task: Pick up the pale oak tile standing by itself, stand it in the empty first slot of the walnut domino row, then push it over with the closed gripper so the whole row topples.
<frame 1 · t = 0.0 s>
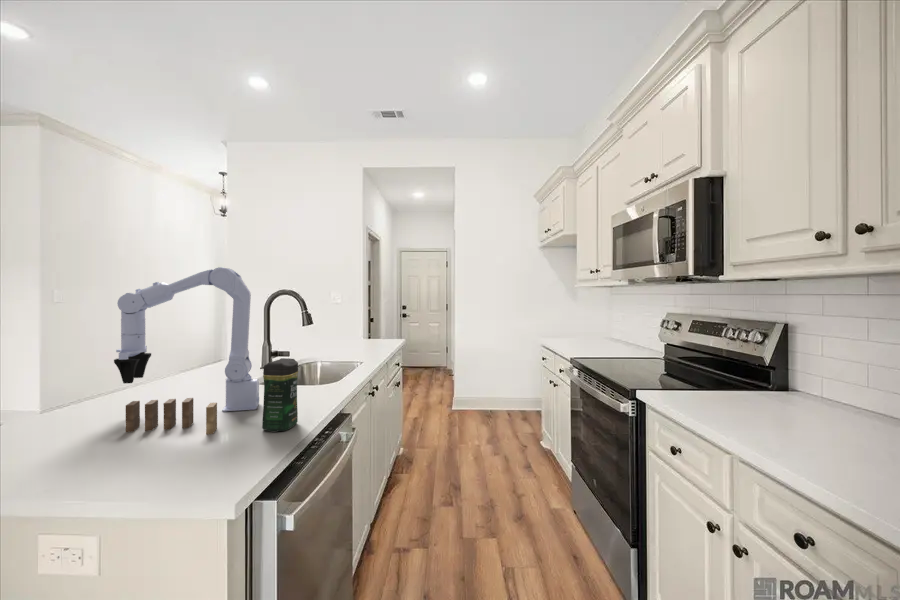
hand: (133, 380, 125), 10 cm above the counter, fingers open, 7 cm apart
tile 3: (169, 426, 115), on the counter
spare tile: (211, 431, 111), on the counter
tile 4: (151, 428, 113), on the counter
tile 2: (187, 425, 116), on the counter
tile 5: (132, 429, 112), on the counter
coffee jar: (280, 427, 116), on the counter
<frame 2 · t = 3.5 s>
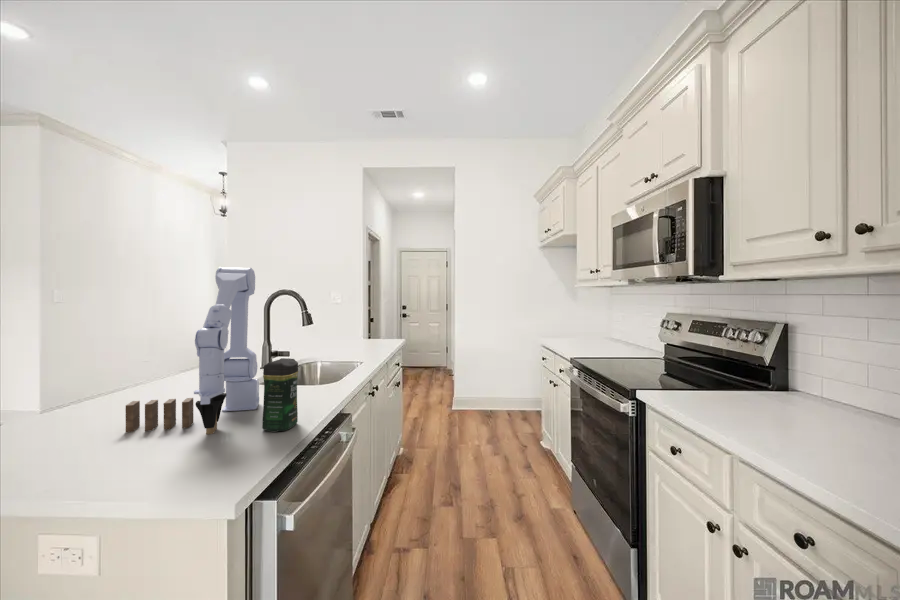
hand: (211, 424, 111), 2 cm above the counter, fingers closed on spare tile, 4 cm apart
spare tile: (211, 431, 111), on the counter, touching gripper
everything else where it was.
when the fingers open (3 cm above the counter, at t = 6.6 s): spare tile drops 1 cm, on the counter.
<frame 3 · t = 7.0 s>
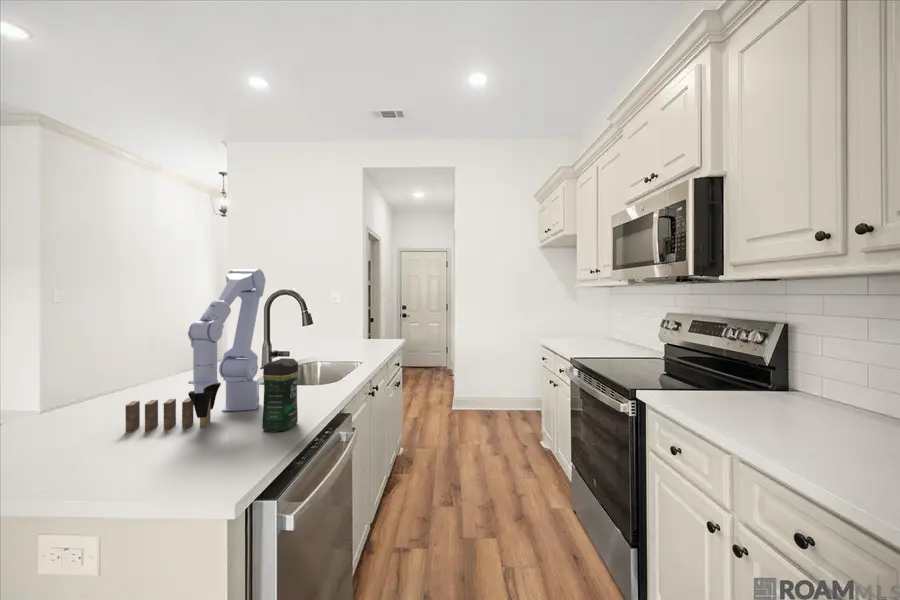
hand: (205, 413, 117), 3 cm above the counter, fingers open, 7 cm apart
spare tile: (205, 424, 117), on the counter
everything else where it was.
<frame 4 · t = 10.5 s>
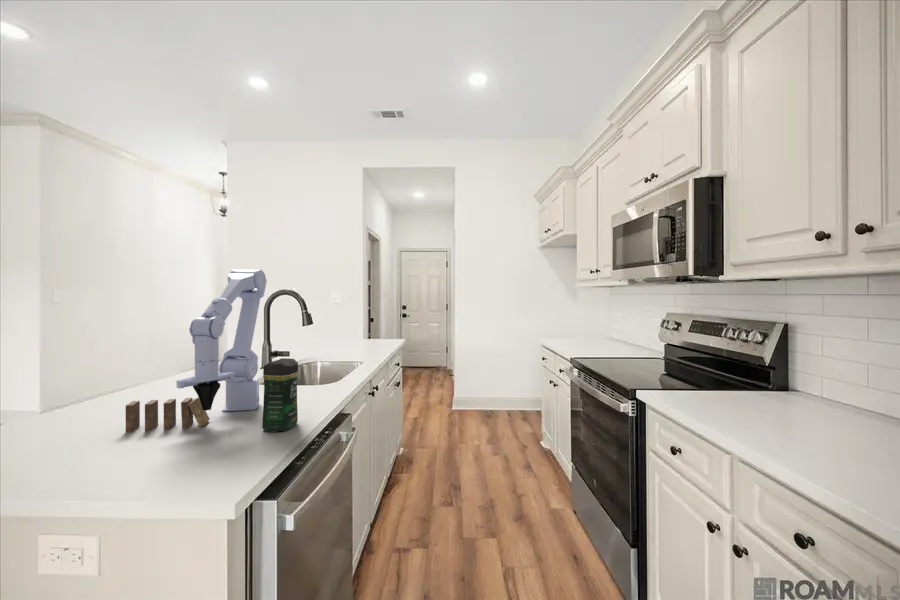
hand: (206, 409, 117), 4 cm above the counter, fingers closed
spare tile: (204, 422, 117), on the counter, tilted 24°, touching tile 2
tile 2: (187, 425, 116), on the counter, touching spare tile
everything else where it was.
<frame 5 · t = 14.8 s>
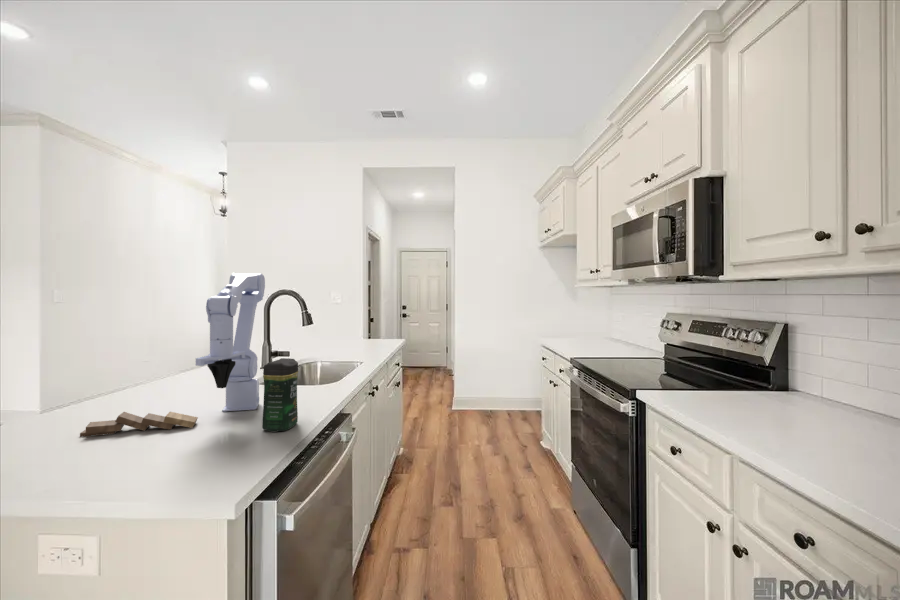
hand: (221, 387, 118), 10 cm above the counter, fingers closed
tile 3: (148, 425, 113), point 1 cm above the counter, tilted 65°
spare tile: (195, 422, 116), point 1 cm above the counter, tilted 72°, touching tile 2
tile 4: (122, 424, 111), point 2 cm above the counter, tilted 88°
tile 2: (174, 424, 114), point 1 cm above the counter, tilted 72°, touching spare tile
tile 5: (117, 430, 111), on the counter, tilted 90°
everything else where it was.
at the end: tile 5 tilted 90°; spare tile tilted 71° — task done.
